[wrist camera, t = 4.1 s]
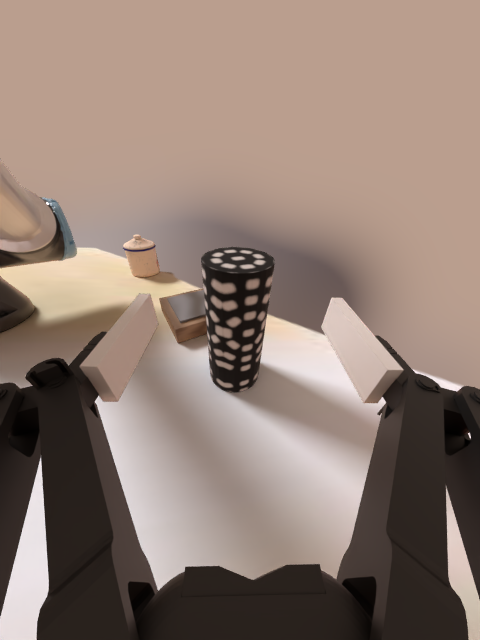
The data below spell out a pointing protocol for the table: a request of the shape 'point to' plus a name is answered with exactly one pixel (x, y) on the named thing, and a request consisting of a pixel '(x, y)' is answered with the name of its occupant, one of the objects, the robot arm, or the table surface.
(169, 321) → the plinth
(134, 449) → the table surface
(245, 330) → the white-spotted black cylinder
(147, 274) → the teacup with lid
